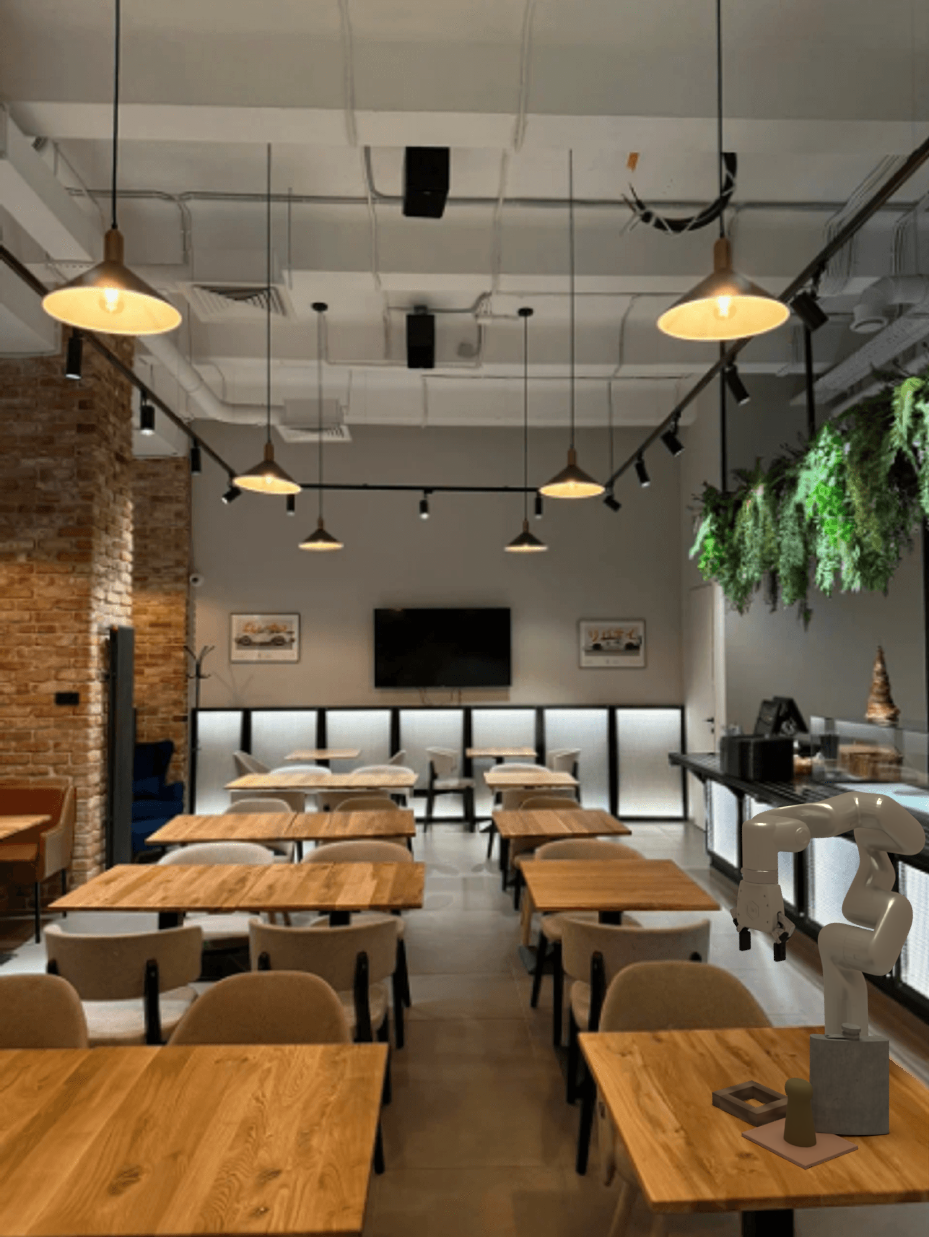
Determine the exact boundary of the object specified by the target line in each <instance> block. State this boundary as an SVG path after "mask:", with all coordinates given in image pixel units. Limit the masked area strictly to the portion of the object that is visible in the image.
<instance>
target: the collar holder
mask: <svg viewBox="0 0 929 1237" xmlns="http://www.w3.org/2000/svg"><path fill="white" fill-rule="evenodd" d="M751 1099H752V1100H753V1099H754V1100H756V1101H759V1102H760V1103H762V1104H763V1105H758V1106H754V1105H752V1104H749V1103H748V1102H746V1101H748V1100H751ZM711 1101H712V1102H711V1103H712V1104H711V1105H713V1106H714V1107H716V1108H718V1109H720V1110H722V1111H725V1112H727V1113H728V1114H730V1115H732V1116H733V1117H737V1118H738V1119H741V1120H742V1121H744V1122H746V1123H748V1124H751V1125H752V1126H754V1127H755V1128H757V1127H760V1126H763V1125H766V1124H769V1123H771V1122H774V1121H777V1120H780V1119H783V1118H786V1110H787V1101H788V1097H787V1095H786V1094H784V1093H781V1092H779V1091H777V1090H774V1089H772V1088H770V1087H768V1086H766V1085H763V1084H761V1083H759V1082H757V1081H755V1080H753V1079H752V1080H748V1081H744V1082H740V1083H738V1084H734V1085H732V1086H728V1087H725V1088H721V1089H718V1090H715V1091H711Z"/></svg>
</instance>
